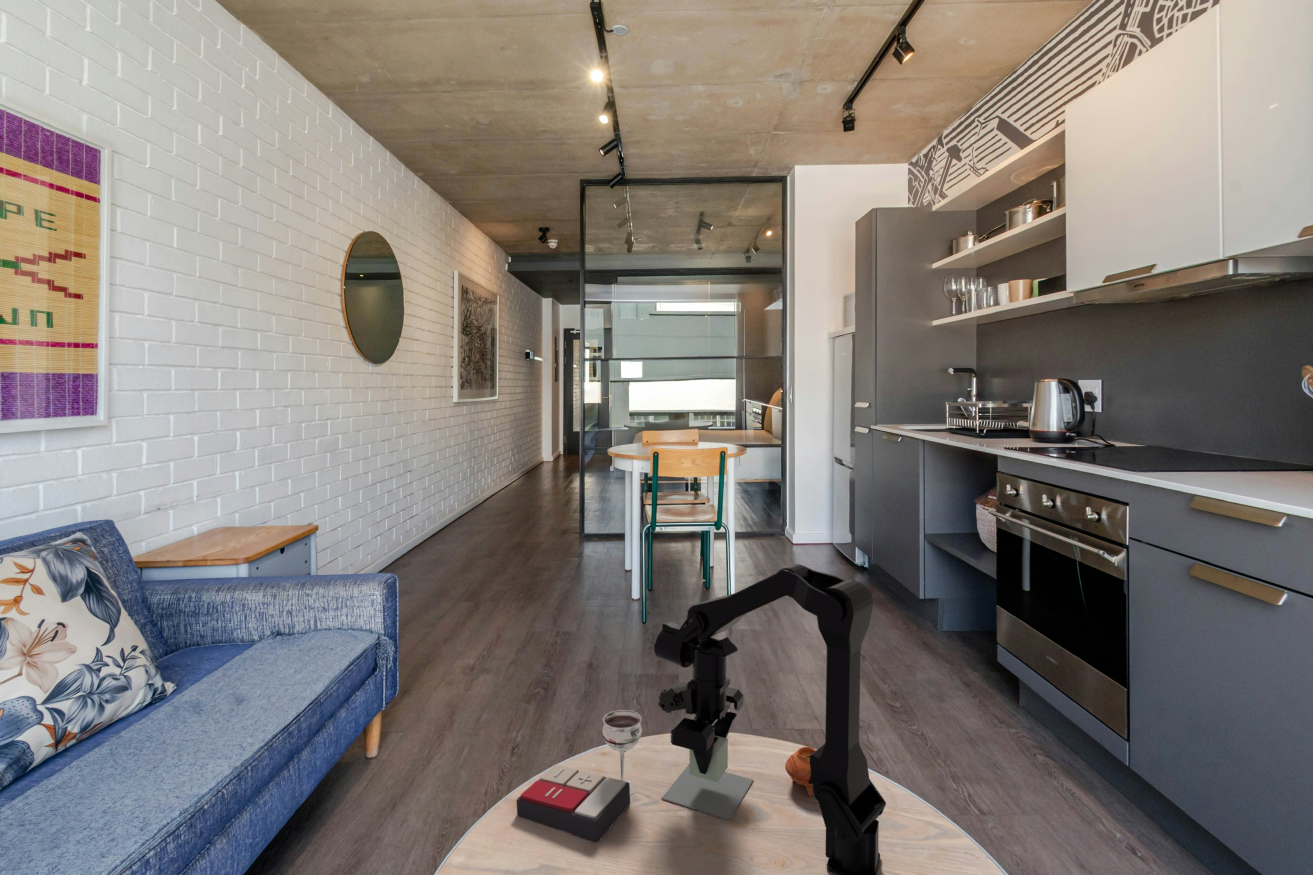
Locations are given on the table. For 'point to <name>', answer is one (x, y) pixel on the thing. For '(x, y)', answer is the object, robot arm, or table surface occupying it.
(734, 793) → the charcoal mat
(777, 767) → the table surface
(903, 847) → the table surface
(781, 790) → the table surface
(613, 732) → the wineglass
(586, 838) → the calculator
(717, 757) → the sage block
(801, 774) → the pot
